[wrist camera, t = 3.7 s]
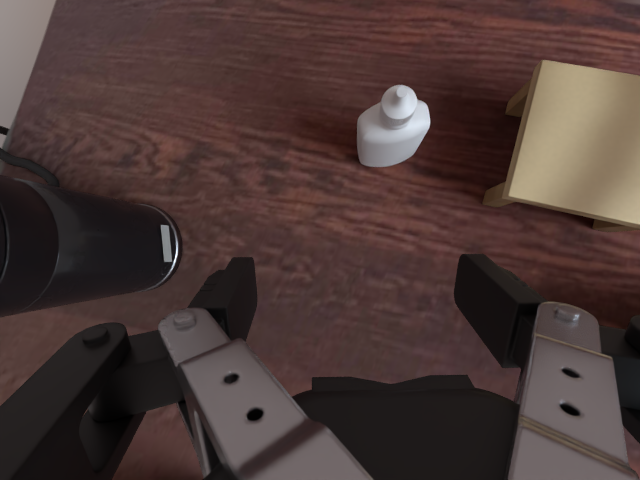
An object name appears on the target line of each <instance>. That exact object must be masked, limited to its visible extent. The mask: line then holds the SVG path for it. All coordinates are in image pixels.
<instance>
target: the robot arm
mask: <svg viewBox="0 0 640 480" xmlns="http://www.w3.org/2000/svg"><path fill="white" fill-rule="evenodd" d="M8 131H9V129H8V128H6V127H3V126H0V134H3V135H6V136H7V133H8ZM0 159H2V160H3V161H5V162H7V163H9V164H11V165H15V166H20V167H24V168H27V169H29V170H31V171H33V172H34V173H36V174H38V175H39V176H41V177H42V178H44V179H45V180H46V182H47V183H48V184H47V185H46V184H41V183H36V182H32V181H27V180H22V179H17V178H11V177H7V176H2V175H0V317H5V316H10V315H15V314H20V313H26V312H31V311H36V310H41V309H47V308H52V307H57V306H63V305H68V304H73V303H78V302H84V301H89V300H94V299H100V298H105V297H110V296H115V295H121V294H126V293H132V292H142V291H147V290H152V289H155V288H157V287H159V286H161V285H163V284H164V283H166V282H167V281H168V280H169V279H170V278H171V277H172V276H173V274H174V273H175V271H176V270H177V268H178V266H179V263H180V260H181V256H182V238H181V234H180V231H179V229H178V227H177V225H176V223H175V221H174V220H173V219H172V218H171V217H170V216H169V215H168V214H167V213H166V212H164V211H163V210H161V209H159V208H157V207H154V206H150V205H146V204H136V203H131V202H127V201H123V200H118V199H113V198H108V197H103V196H99V195H94V194H89V193H84V192H80V191H75V190H70V189H65V188H60V187H59V182H58V180H57V178H56V177H55V176H54V175H53V174H51V173H50V172H49V171H48V170H46V169H45V168H43V167H41V166H40V165H38V164H36V163H34V162H32V161H30V160H27V159H23V158H18V157H15V156H12V155H10V154H8V153H7V152H5V151H4V150H3V149H1V148H0ZM454 298H455V303H456V305H457V307H458V308H459V310H460V311H461V312H462V314H463V315H464V316H465V318H466V319H467V320H468V322H469V323H470V324H471V326H472V327H473V329H474V330H475V331H476V333H477V334H478V335H479V337H480V338H481V339H482V341H483V342H484V343H485V345H486V346H487V348H488V349H489V350H490V352H491V353H492V354H493V356H494V357H495V358H496V360H497V361H498V363H499V364H500V365H501V367H502V368H519V367H520V368H521V372H520V376H519V380H518V385H517V389H516V394H515V398H514V402H513V401H511V400H509V399H507V398H505V397H503V396H500V395H498V394H495V393H492V392H490V391H486V390H482V389H479V388H474V386H473V384H472V382H471V381H470V379H469V377H468V375H430V376H425V377H421V378H417V379H412V380H408V381H404V382H400V383H396V384H387V383H381V382H376V381H371V380H365V379H360V378H354V377H312V390H309V391H305V392H302V393H299V394H297V395H295V396H293V397H291V396H290V395H289V393H288V392H287V391H286V390H285V389H284V387H283V386H282V385H281V384H280V383H279V382H278V380H277V379H276V378H275V377H274V376H273V374H272V373H271V372H270V371H269V370H268V368H267V367H266V366H265V365H264V364H263V363H262V361H261V360H260V359H259V358H258V357H257V355H256V354H255V353H254V352H253V351H252V349H251V348H250V347H249V346H248V345H247V343H246V338H247V335H248V332H249V329H250V326H251V323H252V320H253V317H254V314H255V311H256V307H257V287H256V277H255V267H254V260H253V258H252V257H234V258H232V259H231V261H230V262H229V264H228V266H227V267H226V269H225V270H218V271H216V272H215V273H213V274H212V275H210V276H209V277H208V278H207V280H206V281H205V283H204V285H203V286H202V287H201V289H200V292H198V293H197V294H196V296H195V297H194V299H193V300H192V302H191V303H190V305H189V306H188V307H187V308H185V309H181V310H178V311H175V312H173V313H171V314H169V315H167V316H166V317H165V318H163V319H162V320H161V322H160V323H159V325H158V330H156V331H152V332H147V333H142V334H137V335H132V336H128V333H127V330H126V327H125V326H124V325H123V324H120V323H104V324H99V325H95V326H92V327H90V328H87V329H85V330H83V331H81V332H79V333H77V334H76V335H74V336H73V337H72V338H71V339H69V340H68V341H67V342H66V343H65V344H64V345H63V346H62V347H61V348H60V349H59V350H58V351H57V352H56V353H55V354H54V355H53V356H52V357H51V358H50V359H49V360H48V361H47V362H46V363H45V364H44V365H43V366H41V367H40V368H39V369H38V370H37V371H36V372H35V373H34V374H33V375H32V376H31V377H30V378H29V379H28V380H27V381H26V382H25V383H24V384H23V385H22V386H21V387H20V388H19V389H18V390H17V391H16V392H15V393H14V394H13V395H12V396H11V397H10V398H8V399H7V400H6V401H5V402H4V403H3V404H2V405H1V406H0V480H112V478H113V476H114V474H115V472H116V470H117V468H118V466H119V464H120V462H121V460H122V458H123V456H124V454H125V452H126V450H127V448H128V447H129V445H130V443H131V441H132V439H133V437H134V435H135V433H136V431H137V429H138V427H139V425H140V423H141V421H142V419H143V417H144V415H145V414H146V411H148V410H152V409H155V408H159V407H163V406H166V405H170V404H173V403H176V405H177V408H178V410H179V413H180V415H181V417H182V420H183V422H184V425H185V427H186V430H187V432H188V434H189V437H190V439H191V442H192V444H193V447H194V449H195V452H196V454H197V457H198V460H199V464H200V467H201V470H202V473H203V477H204V479H203V480H640V479H639V477H638V475H637V473H636V472H635V471H634V470H632V469H631V468H630V466H629V464H628V458H627V452H626V445H625V438H624V431H623V426H624V427H625V428H626V429H627V430H628V431H629V432H630V434H631V435H632V436H633V437H634V438H635V439H636V440H637V441H638V442H639V443H640V315H636V316H633V317H632V318H631V320H630V323H629V325H628V328H627V330H625V329H619V328H613V327H606V326H600V325H599V324H598V321H597V319H596V318H595V317H594V316H593V315H591V314H590V313H588V312H587V311H585V310H583V309H581V308H578V307H576V306H573V305H569V304H565V303H560V302H548V301H547V300H546V299H545V298H543V297H542V296H541V295H540V294H538V293H537V292H536V291H535V290H533V289H532V288H531V287H528V285H527V284H526V283H525V282H523V281H521V280H520V278H518V277H517V276H516V275H515V274H513V273H512V272H510V271H508V270H506V269H504V268H502V267H500V266H498V265H497V264H495V263H494V262H493V261H492V260H490V259H489V258H488V257H487V256H486V255H484V254H462V255H461V256H460V258H459V263H458V269H457V275H456V282H455V288H454ZM87 408H88V410H87ZM86 410H87V412H86V413H85V411H86ZM84 413H85V415H84ZM83 415H84V416H83Z"/></svg>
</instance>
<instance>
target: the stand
mask: <svg viewBox="0 0 640 480" xmlns="http://www.w3.org/2000/svg"><path fill="white" fill-rule="evenodd" d="M505 115H511V116H516V117H520V116H522V115H523V116H522V119H521V123H520V127H519V131H518V135H517V139H516V143H515V147H514V151H513V155H512V159H511V163H510V167H509V171H508V175H507V179H506V181H505V182H503V183H501V184H499V185H497V186H495V187H492V188H490V189H488V190H486V191H485V195H484V199H483V203H482V204H483V205H488V206H492V207H500V206H503V205H507V204H510V203H513V202H521V203H525V204H530V205H534V206H539V207H543V208H548V209H553V210H557V211H562V212H566V213H571V214H575V215H580V216H584V217H589V218H593V219H595V220H594V224H593V228H592V229H595V230H600V231H604V232H619V231H633V230H640V76H638V75H632V74H626V73H620V72H614V71H608V70H602V69H596V68H590V67H584V66H578V65H572V64H566V63H560V62H554V61H548V60H542V61H541V62H540V63H539V64H538V65H537V66H536V67H535V68H534V72H533V76H532V78H531V79H530V80H529V81H528V82H527V83H526V84H525V85H524V86H523V87H522V88H521V89H520V90H519V91H518V92H517V93H516V94H515V95H514V96H513V97H512V98H511V99H510V100H509V101H508V104H507V108H506V112H505Z"/></svg>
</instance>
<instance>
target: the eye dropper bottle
mask: <svg viewBox="0 0 640 480" xmlns="http://www.w3.org/2000/svg"><path fill="white" fill-rule="evenodd" d="M429 127H430V115H429V110H428V106H427V105H426V103H424V102H423V101H420V100H417V98H416V94H415V93H414V91H413V90H411V89H410V88H409V87H407V86H404V85H397V86H396V85H395V86H393V87H391V88H390V89H388V90H387V91H386V92H385V93H384V95H383V97H382V99H381V102H380V103H378V104H376V105H374V106H372V107H371V108H369V109H368V110H366V111H365V112H364V113H362V114H361V115H360V117H359V118H358V122H357V151H358V156H359V161H360V163H361V164H363V165H365V166H370V167H386V166H391V165H395V164H398V163H400V162H402V161H404V160H406V159H408V158H409V157H411V156H412V155H413V154H414V153H415V152H416V150H417V148H418V146H419V145H420V143H421V141H422V140H423V138H424V136H425V134H426V133H427V131H428V129H429Z"/></svg>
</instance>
